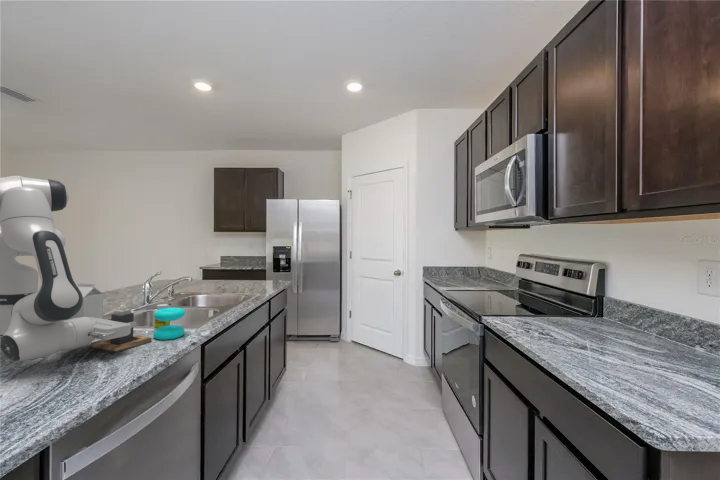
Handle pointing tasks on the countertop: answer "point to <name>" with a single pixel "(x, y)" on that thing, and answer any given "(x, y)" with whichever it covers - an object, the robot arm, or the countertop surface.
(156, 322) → the supplement bottle
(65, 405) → the countertop surface
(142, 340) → the wooden tray
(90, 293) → the milk carton
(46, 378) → the countertop surface
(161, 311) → the donuts
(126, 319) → the plug
